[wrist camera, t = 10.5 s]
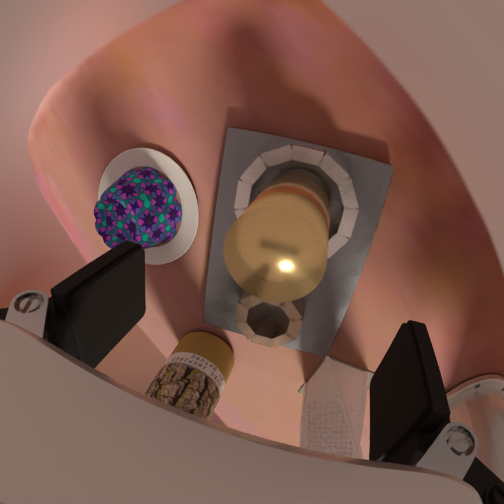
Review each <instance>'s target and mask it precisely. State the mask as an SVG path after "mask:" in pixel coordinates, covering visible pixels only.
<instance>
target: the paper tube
mask: <svg viewBox="0 0 504 504" xmlns="http://www.w3.org/2000/svg"><path fill="white" fill-rule="evenodd" d="M233 365H234V356H233V353H232V351H231V349H230V347H229V346H228V345H227V344H226V343H225V342H224V341H223V340H222V339H220V338H219V337H217V336H215V335H213V334H211V333H208V332H202V331H196V332H191V333H188V334H186V335H185V336H184V337H183V338H182V339H181V340H180V342H179V343H178V345H177V346H176V348H175V349H174V351H173V352H172V354H171V355H170V356H169V358H168V359H167V361H166V362H165V364H164V365H163V367H162V368H161V369H160V371H159V372H158V374H157V375H156V377H155V378H154V380H153V381H152V383H151V384H150V386H149V387H148V389H147V390H146V392H145V393H144V394H145V395H147V396H150V397H152V398H154V399H156V400H159V401H161V402H163V403H165V404H168V405H170V406H173V407H175V408H177V409H180V410H182V411H185V412H187V413H190V414H192V415H195V416H198V417H200V418H203V419H206V420H209V421H210V419H211V417H212V414H213V412H214V410H215V408H216V405H217V403H218V401H219V398H220V396H221V394H222V392H223V389H224V387H225V384H226V382H227V379H228V377H229V375H230V373H231V370H232V368H233Z"/></svg>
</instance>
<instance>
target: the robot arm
mask: <svg viewBox="0 0 504 504" xmlns="http://www.w3.org/2000/svg"><path fill="white" fill-rule="evenodd" d="M51 294H52V297H50V298H49V299H48V297H47V295H46V294H45V293H44V292H42V291H39V290H27V291H24V292H21V293H19V294H18V295H16V296H15V297H14V298H13V299H12V301H11V303H10V306H9V308H5V309H4V308H3V309H0V504H504V377H502V376H500V375H494V374H491V375H483V376H479V377H476V378H473V379H470V380H468V381H466V382H464V383H462V384H460V385H458V386H457V387H455V388H453V389H452V390H451V391H449V392H448V393H446V392H445V388H444V384H443V381H442V377H441V373H440V370H439V366H438V363H437V359H436V356H435V353H434V350H433V346H432V343H431V340H430V337H429V334H428V331H427V328H426V325H425V324H424V323H420V322H416V321H412V320H409V321H408V322H407V323H403V324H402V325H401V327H400V329H399V330H398V332H397V334H396V336H395V338H394V340H393V342H392V344H391V345H390V347H389V349H388V351H387V353H386V354H385V356H384V358H383V360H382V361H381V363H380V365H379V366H378V368H377V370H376V371H375V373H374V375H373V376H372V378H371V381H370V453H369V460H365V459H358V458H352V457H346V456H341V455H335V454H329V453H324V452H319V451H314V450H309V449H305V448H300V447H296V446H292V445H288V444H284V443H280V442H276V441H272V440H268V439H265V438H261V437H258V436H254V435H251V434H248V433H244V432H241V431H238V430H235V429H232V428H229V427H226V426H223V425H220V424H217V423H214V422H211V421H209V420H206V419H203V418H200V417H198V416H195V415H192V414H190V413H187V412H185V411H182V410H180V409H177V408H175V407H173V406H170V405H168V404H165V403H163V402H161V401H159V400H156V399H154V398H152V397H150V396H147V395H145V394H143V393H141V392H139V391H136V390H135V389H132V388H131V387H128V386H126V385H124V384H122V383H120V382H118V381H116V380H115V379H112V378H111V377H109V376H107V375H105V374H103V373H101V372H99V371H98V370H96V369H94V368H95V367H96V366H97V365H98V364H99V363H100V362H101V361H102V359H104V357H105V356H106V355H107V354H108V353H109V352H110V351H111V350H112V349H113V348H114V347H115V346H116V345H117V344H118V343H119V342H120V340H121V339H122V338H123V337H124V336H125V335H126V334H127V333H128V332H129V331H130V330H131V329H132V328H133V327H134V326H135V325H136V324H137V323H138V322H139V320H140V319H141V318H142V317H143V316H144V314H145V310H146V304H145V251H144V249H142V246H141V245H140V244H138V243H135V242H132V241H129V240H126V241H124V242H122V243H120V244H119V245H117V246H116V247H114V248H112V249H111V250H109V251H108V252H106V253H104V254H103V255H101V256H100V257H98V258H97V259H95V260H93V261H92V262H90V263H89V264H87V265H86V266H84V267H83V268H81V269H80V270H78V271H77V272H75V273H74V274H72V275H71V276H69V277H68V278H66V279H65V280H63V281H62V282H60V283H59V284H58V285H56V286H55V287H53V288H52V289H51Z"/></svg>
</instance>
